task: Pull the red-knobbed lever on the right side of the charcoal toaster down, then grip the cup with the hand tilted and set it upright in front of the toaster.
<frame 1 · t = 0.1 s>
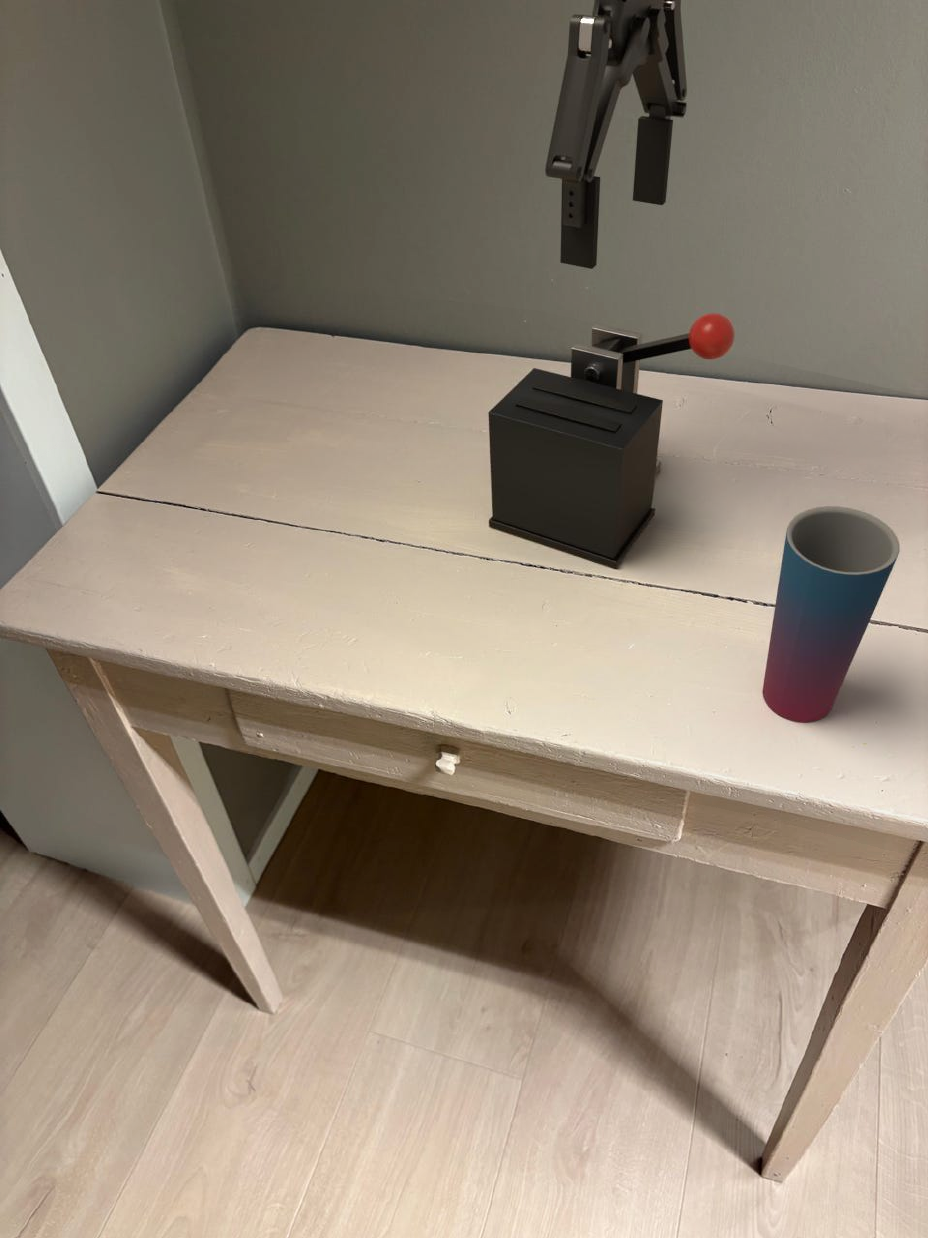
hand: (615, 231, 78), 22 cm above the table, tool pointing down, fingers open, 13 cm apart
lever: (658, 347, 80), point 14 cm above the table, hinge at 25.0°
cup: (796, 698, 71), on the table
toaster: (571, 521, 87), on the table
bracket: (599, 472, 92), on the table
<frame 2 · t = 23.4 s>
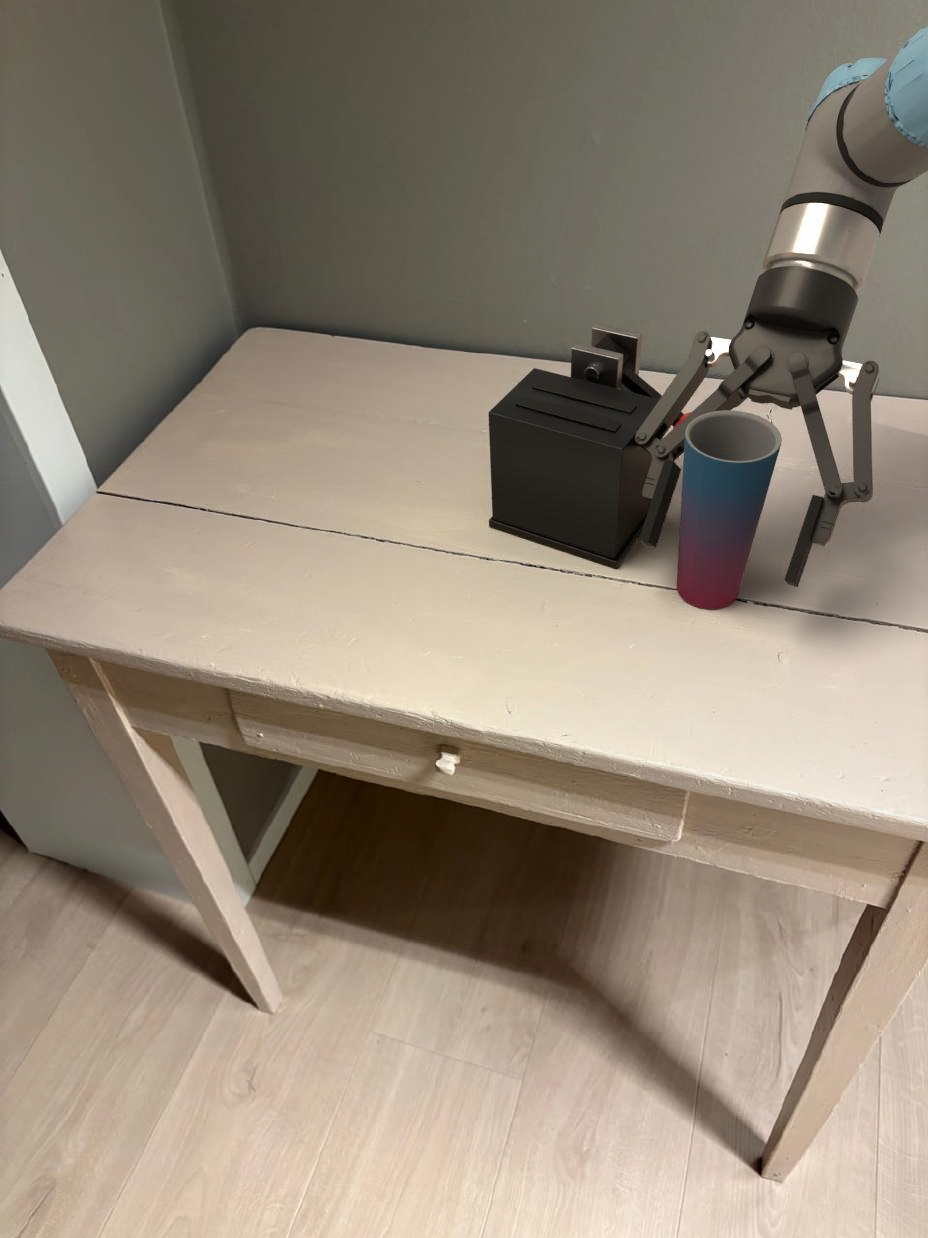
hand: (716, 563, 73), 6 cm above the table, tool tilted 45°, fingers open, 11 cm apart
lever: (651, 397, 84), point 9 cm above the table, hinge at -30.1°
cup: (706, 590, 80), on the table
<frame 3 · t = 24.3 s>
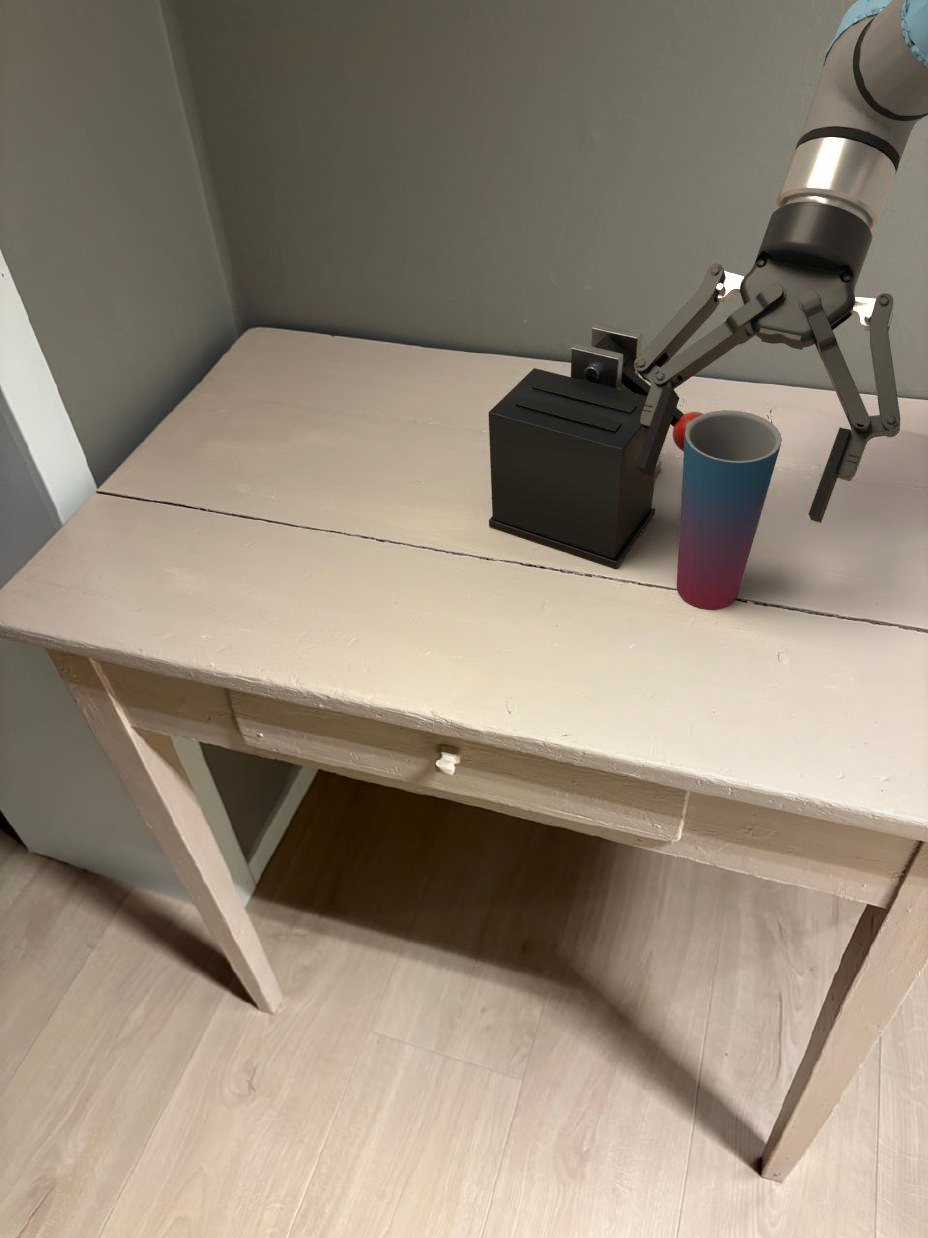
hand: (726, 494, 73), 10 cm above the table, tool tilted 45°, fingers open, 13 cm apart
nothing on the table moved.
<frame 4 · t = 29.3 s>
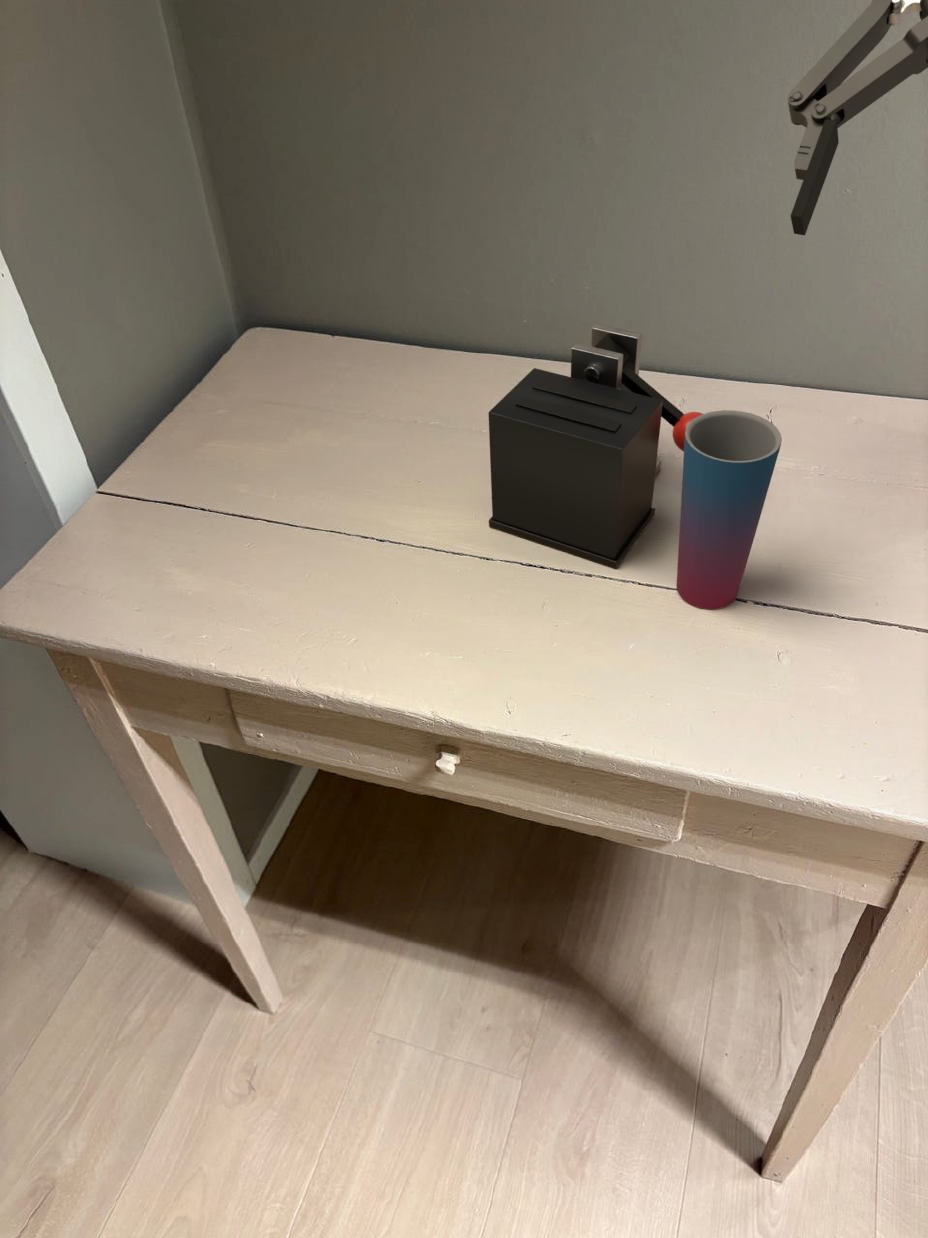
hand: (902, 243, 62), 28 cm above the table, tool tilted 45°, fingers open, 13 cm apart
nothing on the table moved.
at the end: lever at -30° (first picture: +25°); cup inside the target area on the table beside the toaster (0.0 cm from its centre), on the table; cup tilted 0° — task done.
